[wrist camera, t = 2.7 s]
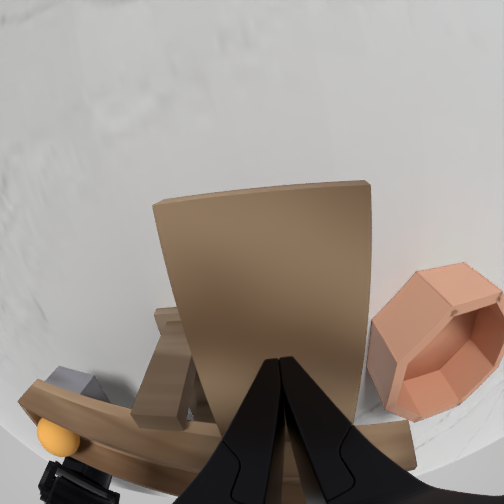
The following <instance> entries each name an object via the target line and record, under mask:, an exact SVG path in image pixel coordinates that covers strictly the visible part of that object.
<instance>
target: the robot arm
mask: <svg viewBox="0 0 504 504" xmlns="http://www.w3.org/2000/svg"><path fill="white" fill-rule="evenodd" d="M279 365H280V366H279ZM283 402H284V403H283ZM284 412H285V413H284ZM285 420H286V426H287V431H288V435H289V439H290V442H291V446H292V450H293V454H294V458H295V462H296V466H297V470H298V473H299V477H300V481H301V485H302V489H303V493H304V496H305V500H306V504H504V495H502V496H488V495H478V494H471V493H463V492H457V491H450V490H445V489H440V488H436V487H433V486H430V485H428V484H425V483H424V482H422V481H420V480H418V479H417V478H416V477H414V476H413V475H412V474H410V473H409V472H407V471H406V470H405V469H403V468H402V467H401V466H399V465H398V464H397V463H395V462H394V461H393V460H391V459H390V458H389V457H388V456H386V455H385V454H384V453H383V452H381V451H380V450H379V449H378V448H377V447H375V446H374V445H373V444H372V443H371V442H370V441H369V440H368V439H367V438H366V437H365V436H364V435H363V434H362V433H361V432H360V431H359V430H358V429H357V428H356V427H355V425H352V422H351V421H350V420H349V419H348V418H347V417H346V416H345V415H344V414H343V412H342V411H341V410H340V409H339V408H338V407H337V406H336V405H335V404H334V403H333V401H332V400H331V399H330V398H329V397H328V396H327V395H326V394H325V392H324V391H323V390H322V389H321V388H320V387H319V386H318V385H317V383H316V382H315V381H314V380H313V379H312V378H311V377H310V375H309V374H308V373H307V372H306V371H305V370H304V369H303V367H302V366H301V365H300V364H299V363H298V362H297V360H296V359H295V358H294V357H293V356H287V357H280V358H279V359H278V358H270V359H265V360H264V361H263V363H262V365H261V367H260V369H259V371H258V373H257V375H256V377H255V379H254V381H253V383H252V384H251V386H250V388H249V390H248V392H247V394H246V396H245V398H244V399H243V401H242V403H241V405H240V407H239V408H238V410H237V412H236V414H235V416H234V418H233V419H232V421H231V423H230V425H229V426H228V428H227V430H226V432H225V433H224V435H223V437H222V441H220V442H219V444H218V445H217V447H216V449H215V450H214V452H213V454H212V455H211V457H210V458H209V460H208V461H207V463H206V464H205V466H204V467H203V468H202V469H201V471H200V472H199V473H198V475H197V476H196V477H195V478H194V480H193V481H192V482H191V483H190V484H189V485H188V487H187V488H186V489H185V490H184V491H183V492H182V493H181V495H180V496H179V497H178V498H177V499H176V500H175V502H173V504H281V499H282V484H283V468H284V449H285ZM55 474H56V475H58V476H57V477H56V476H55ZM59 476H60V477H59ZM112 476H113V475H110V474H108V473H105V472H103V471H100V470H98V469H96V468H94V467H91V466H89V465H87V464H85V463H83V462H81V461H78V460H76V459H74V458H72V457H70V456H67V457H65V459H64V462H63V464H62V465H61V464H60V463H59V462H58V461H56V462H52V461H50V460H49V463H48V465H47V467H46V469H45V471H44V474H43V476H42V478H41V480H40V483H39V485H38V488H39V490H40V495H41V497H40V500H42V501H44V502H45V504H119V498H120V494H119V493H117V492H113V491H111V490H109V486H110V482H111V479H112Z"/></svg>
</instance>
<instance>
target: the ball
mask: <svg viewBox="0 0 504 504" xmlns="http://www.w3.org/2000/svg"><path fill="white" fill-rule="evenodd" d="M37 435H38V439H39V441H40V443H41V444H42V446H43V447H44V448H45V449H46V450H47V451H48V452H50V453H51V454H53V455H56V456H59V457H67V456H70V455H72V454H74V453H75V452H76V451H77V449H78V447H79V444H80V435H78V434H76V433H73V432H71V431H69V430H67V429H65V428H62V427H60V426H58V425H56V424H54V423H52V422H50V421H48V420H46V419H44V418H41V419H40V421H39V423H38V426H37Z"/></svg>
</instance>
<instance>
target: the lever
mask: <svg viewBox="0 0 504 504" xmlns="http://www.w3.org/2000/svg"><path fill="white" fill-rule="evenodd" d="M152 207H153V212H154V217H155V222H156V226H157V231H158V235H159V239H160V244H161V248H162V252H163V256H164V260H165V264H166V268H167V272H168V276H169V280H170V283H171V287H172V291H173V294H174V298H175V302H176V305H177V309H178V312H179V316H180V319H181V322H182V326H183V329H184V332H185V335H186V339H187V342H188V345H189V348H190V351H191V354H192V357H193V360H194V363H195V366H196V369H197V372H198V375H199V378H200V381H201V384H202V387H203V389H204V392H205V395H206V398H207V400H208V403H209V406H210V408H211V411H212V414H213V416H214V419H215V421H216V424H213V423H205V422H197V421H190V420H186V423H185V429H184V431H173V430H155V429H143V428H139V427H138V425H137V424H136V422H135V421H134V419H133V418H132V416H131V415H130V413H131V410H132V409H129V408H125V407H121V406H118V405H114V404H111V403H110V401H109V399H108V398H107V396H106V395H105V393H104V391H103V390H102V388H101V386H100V385H99V383H98V381H97V379H96V378H95V376H94V375H91V374H87V373H83V372H79V371H75V370H72V369H68V368H65V367H61V366H58V367H57V368H56V370H55V371H54V372H53V373H52V374H51V375H50V376H49V377H48V379H47V380H46V381H45V382H44V381H42V380H39V379H37V380H36V381H35V382H34V383H33V384H32V385H31V387H30V388H29V389H28V390H27V391H26V392H25V393H24V394H23V396H22V397H21V398H20V399H19V400H18V401H17V402H18V403H19V404H20V406H21V407H22V408H23V410H24V411H25V412H26V413H27V415H28V416H29V417H30V418H31V420H32V421H33V422H34V423H35V425H36V426H38V423H39V421H40V419H41V418H44V419H46V420H48V421H50V422H52V423H54V424H56V425H58V426H60V427H62V428H65V429H67V430H69V431H71V432H73V433H76V434H78V435H80V444H79V447H78V449H77V451H76V452H75V453H74V454H72V455H70V457H72V458H74V459H76V460H78V461H81V462H83V463H85V464H87V465H89V466H91V467H94V468H96V469H98V470H100V471H103V472H105V473H108V474H110V475H113V476H115V477H118V478H120V479H123V480H126V481H129V482H131V483H134V484H137V485H140V486H143V487H146V488H149V489H153V490H156V491H159V492H163V493H166V494H170V495H174V496H178V497H179V496H180V495H181V493H182V492H183V491H184V490H185V489H186V488H187V487H188V485H189V484H190V483H191V482H192V481H193V480H194V478H195V477H196V476H197V475H198V473H199V472H200V471H201V469H202V468H203V467H204V466H205V464H206V463H207V461H208V460H209V458H210V457H211V455H212V454H213V452H214V450H215V449H216V447H217V445H218V444H219V442H220V441H222V437H223V435H224V433H225V432H226V430H227V428H228V426H229V425H230V423H231V421H232V419H233V418H234V416H235V414H236V412H237V410H238V408H239V407H240V405H241V403H242V401H243V399H244V398H245V396H246V394H247V392H248V390H249V388H250V386H251V384H252V383H253V381H254V379H255V377H256V375H257V373H258V371H259V369H260V367H261V365H262V363H263V361H264V360H265V359H270V358H278V359H279V358H280V357H287V356H293V357H294V358H295V359H296V360H297V362H298V363H299V364H300V365H301V366H302V367H303V369H304V370H305V371H306V372H307V373H308V374H309V375H310V377H311V378H312V379H313V380H314V381H315V382H316V383H317V385H318V386H319V387H320V388H321V389H322V390H323V391H324V392H325V394H326V395H327V396H328V397H329V398H330V399H331V400H332V401H333V403H334V404H335V405H336V406H337V407H338V408H339V409H340V410H341V411H342V412H343V414H344V415H345V416H346V417H347V418H348V419H349V420H350V421H351V422H352V425H353V421H354V416H355V411H356V405H357V400H358V394H359V388H360V381H361V375H362V368H363V360H364V352H365V344H366V334H367V324H368V312H369V299H370V281H371V253H372V211H371V185H370V184H369V183H368V182H366V181H365V180H360V181H339V182H322V183H308V184H294V185H282V186H271V187H261V188H251V189H241V190H232V191H223V192H215V193H207V194H199V195H192V196H184V197H177V198H170V199H164V200H162V201H160V202H158V203H156V204H154V205H152ZM279 366H280V365H279ZM283 403H284V402H283ZM284 413H285V412H284ZM355 427H356V428H357V429H358V430H359V431H360V432H361V433H362V434H363V435H364V436H365V437H366V438H367V439H368V440H369V441H370V442H371V443H372V444H373V445H374V446H375V447H377V448H378V449H379V450H380V451H381V452H383V453H384V454H385V455H386V456H388V457H389V458H390V459H391V460H393V461H394V462H395V463H397V464H398V465H399V466H401V467H402V468H403V469H405V470H406V471H410V470H415V468H416V467H417V462H416V456H415V451H414V445H413V440H412V435H411V431H410V426H409V421H408V420H402V421H395V422H388V423H381V424H372V425H362V426H355ZM281 504H306V500H305V496H304V493H303V489H302V485H301V481H300V477H299V473H298V470H297V466H296V462H295V458H294V454H293V450H292V446H291V442H290V439H289V435H288V431H287V426H286V420H285V449H284V468H283V484H282V499H281Z"/></svg>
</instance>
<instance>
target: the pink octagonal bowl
mask: <svg viewBox="0 0 504 504" xmlns="http://www.w3.org/2000/svg"><path fill="white" fill-rule="evenodd" d="M503 355H504V294H503V291H502V290H501V289H499V288H498V287H497V286H495V285H494V284H493V283H492V282H490V281H489V280H488V279H486V278H485V277H484V276H482V275H481V274H480V273H478V272H477V271H476V270H474V269H473V268H471V267H470V266H469V265H467V264H466V263H464V262H463V263H459V264H454V265H449V266H444V267H438V268H433V269H428V270H422V271H416V273H415V274H414V275H413V276H412V277H411V278H410V280H409V281H408V282H407V283H406V284H405V285H404V286H403V287H402V289H401V290H400V291H399V292H398V293H397V294H396V295H395V296H394V297H393V298H392V299H391V300H390V302H389V303H388V304H387V305H386V306H385V307H384V308H383V309H382V310H381V311H380V312H379V313H378V314H377V315H376V316H375V317H374V318H373V319H372V326H371V335H370V344H369V352H368V359H367V365H366V366H367V369H368V371H369V373H370V375H371V378H372V380H373V382H374V385H375V387H376V389H377V392H378V394H379V396H380V399H381V401H382V403H383V406H384V408H385V410H387V411H390V412H392V413H394V414H396V415H399V416H401V417H403V418H405V419H408V420H410V421H412V422H414V423H415V422H418V421H421V420H423V419H426V418H429V417H432V416H434V415H437V414H439V413H442V412H444V411H447V410H449V409H452V408H454V407H456V406H459V405H460V404H461V403H462V402H463V401H465V400H466V399H467V398H468V397H469V396H470V395H471V394H472V393H473V392H474V391H475V390H476V389H477V388H478V387H479V386H480V385H481V384H482V383H483V382H484V381H485V380H486V379H487V378H488V377H489V376H490V375H491V374H492V373H493V372H494V371H495V370H496V369H497V368H498V367H499V364H500V362H501V360H502V357H503Z"/></svg>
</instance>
